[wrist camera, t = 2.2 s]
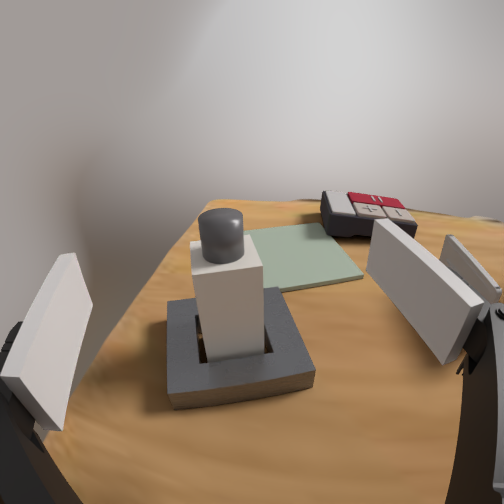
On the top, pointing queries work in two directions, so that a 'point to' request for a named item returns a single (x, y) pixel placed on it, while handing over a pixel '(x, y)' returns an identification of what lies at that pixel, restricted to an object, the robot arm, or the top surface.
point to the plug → (228, 287)
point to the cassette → (469, 269)
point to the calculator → (361, 213)
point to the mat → (301, 257)
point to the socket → (235, 370)
